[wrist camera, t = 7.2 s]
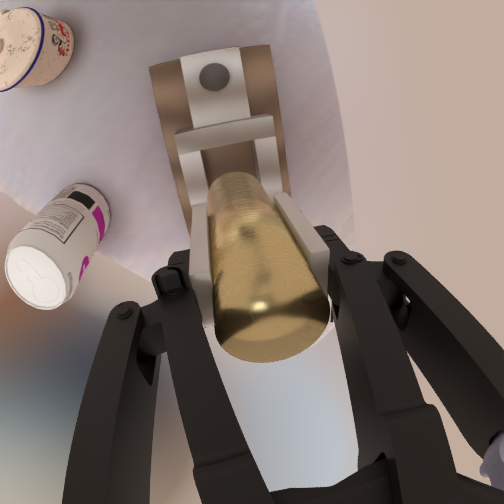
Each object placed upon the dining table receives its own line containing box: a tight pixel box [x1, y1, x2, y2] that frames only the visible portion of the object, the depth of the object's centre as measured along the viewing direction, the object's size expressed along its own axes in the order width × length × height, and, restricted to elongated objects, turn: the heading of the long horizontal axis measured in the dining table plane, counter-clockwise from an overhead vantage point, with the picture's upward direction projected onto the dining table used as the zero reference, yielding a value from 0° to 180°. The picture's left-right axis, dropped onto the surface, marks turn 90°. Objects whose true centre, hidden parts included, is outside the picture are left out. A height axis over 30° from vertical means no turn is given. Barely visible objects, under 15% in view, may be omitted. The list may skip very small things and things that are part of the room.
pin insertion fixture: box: [149, 45, 290, 239], centre depth 32 cm, size 26×13×6 cm, turn 9°
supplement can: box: [5, 184, 110, 310], centre depth 27 cm, size 8×8×15 cm
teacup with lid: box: [0, 7, 74, 92], centre depth 16 cm, size 12×9×12 cm
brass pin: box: [207, 172, 330, 363], centre depth 15 cm, size 4×4×12 cm
